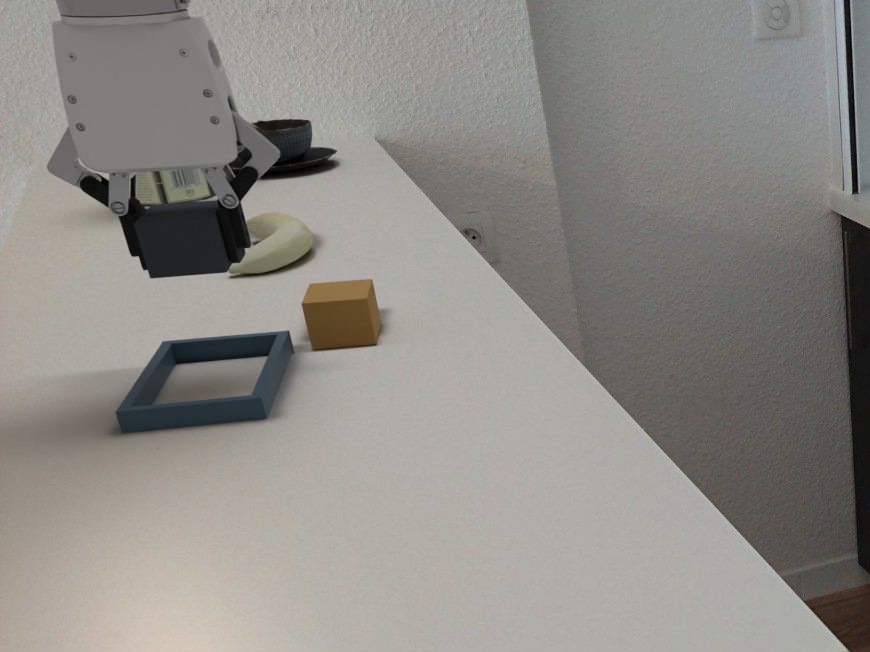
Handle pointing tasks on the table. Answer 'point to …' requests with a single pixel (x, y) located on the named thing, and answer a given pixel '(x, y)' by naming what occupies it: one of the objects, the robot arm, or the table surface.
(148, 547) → the table surface
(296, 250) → the fruit
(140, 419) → the frame
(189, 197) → the coffee can
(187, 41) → the robot arm
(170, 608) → the table surface
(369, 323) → the orange block
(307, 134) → the soup bowl
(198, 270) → the dark gray block
